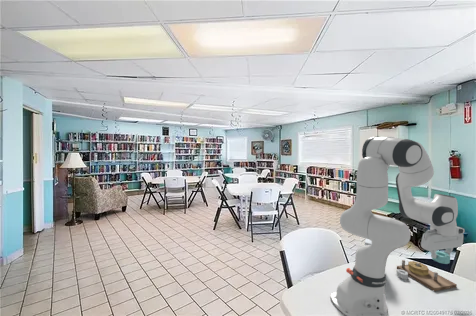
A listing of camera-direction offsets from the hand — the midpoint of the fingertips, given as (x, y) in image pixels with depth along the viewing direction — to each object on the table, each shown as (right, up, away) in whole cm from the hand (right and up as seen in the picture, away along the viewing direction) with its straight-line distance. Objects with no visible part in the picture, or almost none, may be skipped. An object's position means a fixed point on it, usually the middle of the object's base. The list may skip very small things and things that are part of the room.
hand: (440, 256), depth 103 cm
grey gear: (-10, -15, +11) cm, 21 cm away
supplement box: (-22, -15, +15) cm, 31 cm away
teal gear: (0, -2, 0) cm, 2 cm away
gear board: (+2, -16, +11) cm, 19 cm away
